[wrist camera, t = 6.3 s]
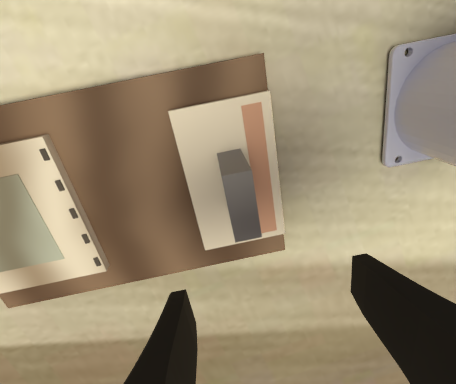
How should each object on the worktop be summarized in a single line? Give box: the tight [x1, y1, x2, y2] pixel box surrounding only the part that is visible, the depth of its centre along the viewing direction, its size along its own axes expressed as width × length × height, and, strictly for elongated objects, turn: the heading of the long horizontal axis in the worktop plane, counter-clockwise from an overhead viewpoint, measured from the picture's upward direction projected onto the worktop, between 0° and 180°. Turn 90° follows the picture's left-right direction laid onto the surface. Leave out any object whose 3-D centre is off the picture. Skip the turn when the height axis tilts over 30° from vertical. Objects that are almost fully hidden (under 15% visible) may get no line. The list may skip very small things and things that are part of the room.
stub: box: [168, 90, 285, 250], centre depth 16 cm, size 6×10×4 cm, turn 10°
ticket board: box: [0, 53, 285, 308], centre depth 18 cm, size 22×14×2 cm, turn 100°
